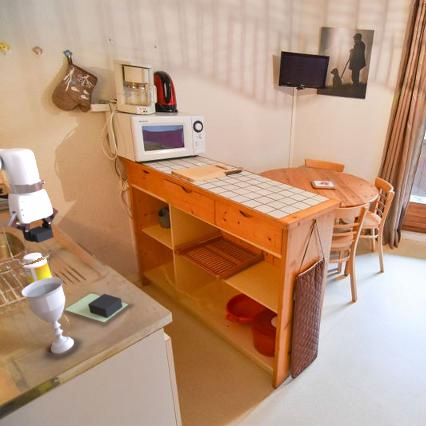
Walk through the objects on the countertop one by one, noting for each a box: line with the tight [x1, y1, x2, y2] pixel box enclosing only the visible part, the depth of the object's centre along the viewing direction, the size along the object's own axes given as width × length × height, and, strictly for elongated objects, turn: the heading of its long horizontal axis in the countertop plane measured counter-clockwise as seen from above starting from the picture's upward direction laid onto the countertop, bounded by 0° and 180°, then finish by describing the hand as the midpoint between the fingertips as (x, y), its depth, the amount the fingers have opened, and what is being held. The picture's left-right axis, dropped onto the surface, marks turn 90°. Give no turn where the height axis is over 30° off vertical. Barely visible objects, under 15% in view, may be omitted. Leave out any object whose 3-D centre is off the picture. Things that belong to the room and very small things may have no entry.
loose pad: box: [30, 226, 55, 244], centre depth 109 cm, size 6×5×3 cm
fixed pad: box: [88, 293, 123, 318], centre depth 89 cm, size 6×5×3 cm
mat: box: [64, 292, 129, 323], centre depth 90 cm, size 14×8×1 cm, turn 73°
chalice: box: [21, 276, 75, 354], centre depth 74 cm, size 7×7×18 cm
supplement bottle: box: [22, 252, 53, 285], centre depth 97 cm, size 6×6×10 cm
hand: (39, 237), depth 109 cm, fingers closed on loose pad, 5 cm apart
